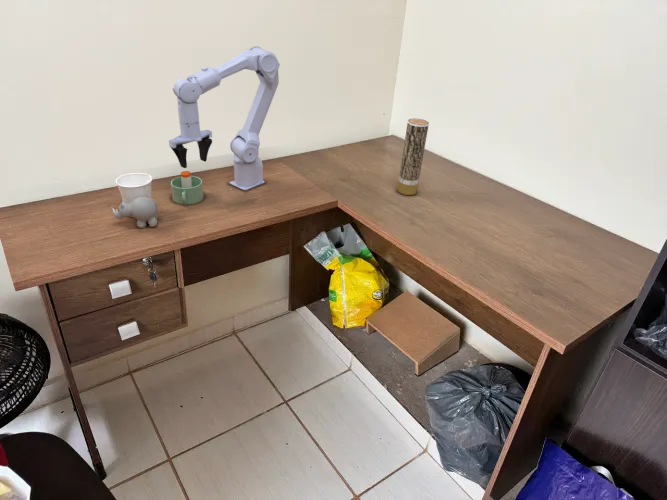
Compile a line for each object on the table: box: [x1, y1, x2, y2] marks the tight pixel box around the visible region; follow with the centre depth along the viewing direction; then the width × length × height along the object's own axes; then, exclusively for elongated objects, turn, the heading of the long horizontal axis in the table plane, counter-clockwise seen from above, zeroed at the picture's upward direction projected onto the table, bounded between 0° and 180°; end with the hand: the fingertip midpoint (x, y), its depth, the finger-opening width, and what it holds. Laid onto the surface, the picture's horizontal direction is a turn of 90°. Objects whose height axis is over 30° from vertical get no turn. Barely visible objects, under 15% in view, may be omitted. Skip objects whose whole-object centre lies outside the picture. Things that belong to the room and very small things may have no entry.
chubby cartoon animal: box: [111, 196, 159, 229], centre depth 136 cm, size 7×12×8 cm, turn 102°
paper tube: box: [397, 118, 430, 196], centre depth 161 cm, size 7×7×25 cm
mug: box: [170, 175, 205, 206], centre depth 151 cm, size 12×10×6 cm
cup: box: [115, 172, 153, 218], centre depth 140 cm, size 10×10×11 cm
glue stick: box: [180, 170, 192, 188], centre depth 151 cm, size 3×3×8 cm
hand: (193, 163), depth 151 cm, fingers open, 7 cm apart
